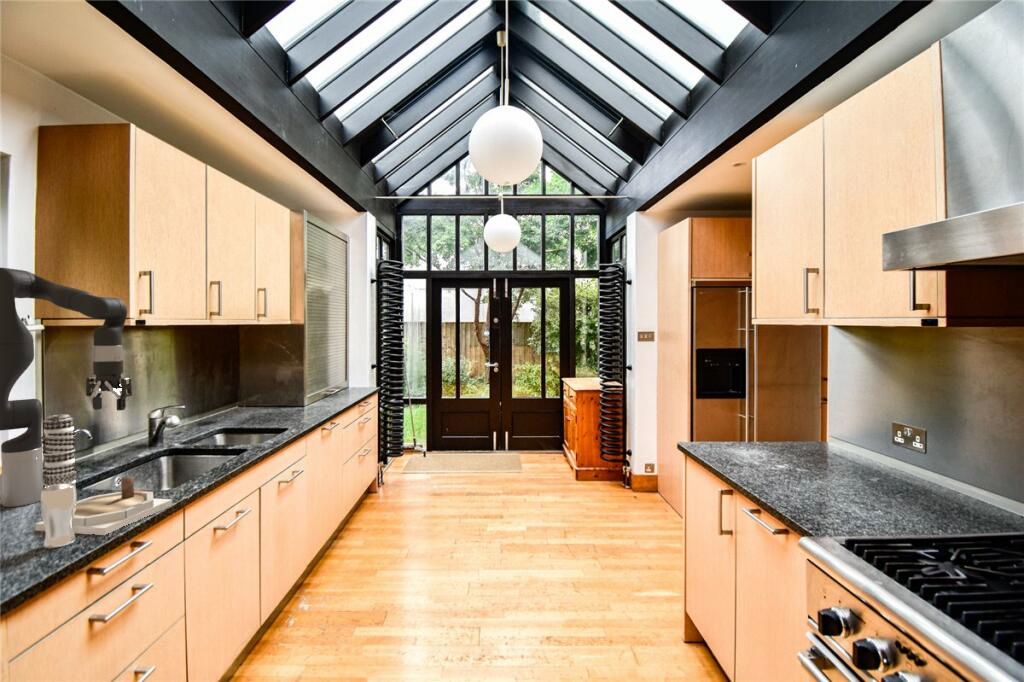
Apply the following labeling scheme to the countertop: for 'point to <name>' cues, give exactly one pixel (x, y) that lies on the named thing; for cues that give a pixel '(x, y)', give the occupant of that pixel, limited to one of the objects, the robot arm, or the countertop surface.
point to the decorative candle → (59, 450)
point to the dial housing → (115, 515)
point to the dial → (112, 501)
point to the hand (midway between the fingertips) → (109, 409)
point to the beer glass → (58, 514)
